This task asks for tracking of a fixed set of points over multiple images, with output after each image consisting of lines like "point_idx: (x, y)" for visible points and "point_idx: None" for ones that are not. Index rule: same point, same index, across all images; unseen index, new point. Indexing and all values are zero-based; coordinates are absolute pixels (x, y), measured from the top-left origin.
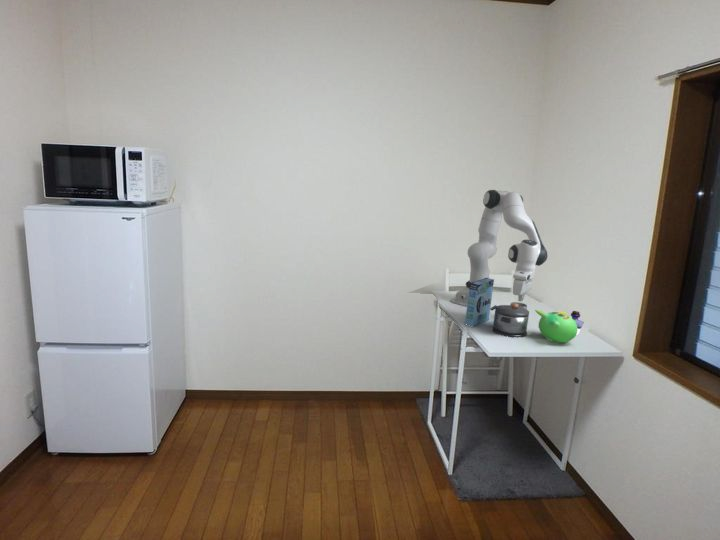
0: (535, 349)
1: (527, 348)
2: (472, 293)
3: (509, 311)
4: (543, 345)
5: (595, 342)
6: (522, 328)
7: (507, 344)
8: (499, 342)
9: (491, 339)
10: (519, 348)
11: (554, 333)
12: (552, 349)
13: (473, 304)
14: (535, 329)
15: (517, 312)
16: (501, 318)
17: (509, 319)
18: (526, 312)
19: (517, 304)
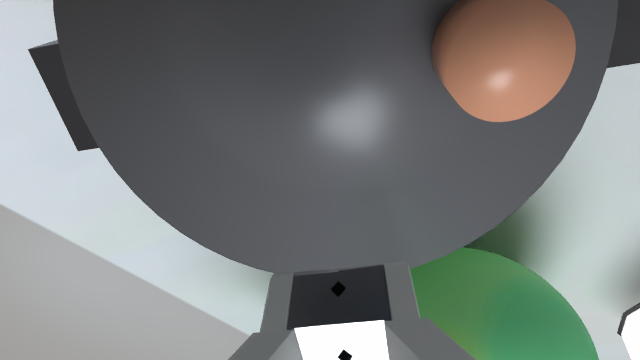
0: (157, 282)
1: (125, 251)
2: None
3: (182, 96)
4: (266, 286)
5: None
6: None
7: (52, 148)
8: (23, 92)
9: (6, 14)
10: (74, 224)
11: None
12: (249, 331)
13: None
14: (589, 137)
15: (251, 189)
16: (34, 52)
17: (86, 146)
18: (362, 255)
19: (506, 107)
